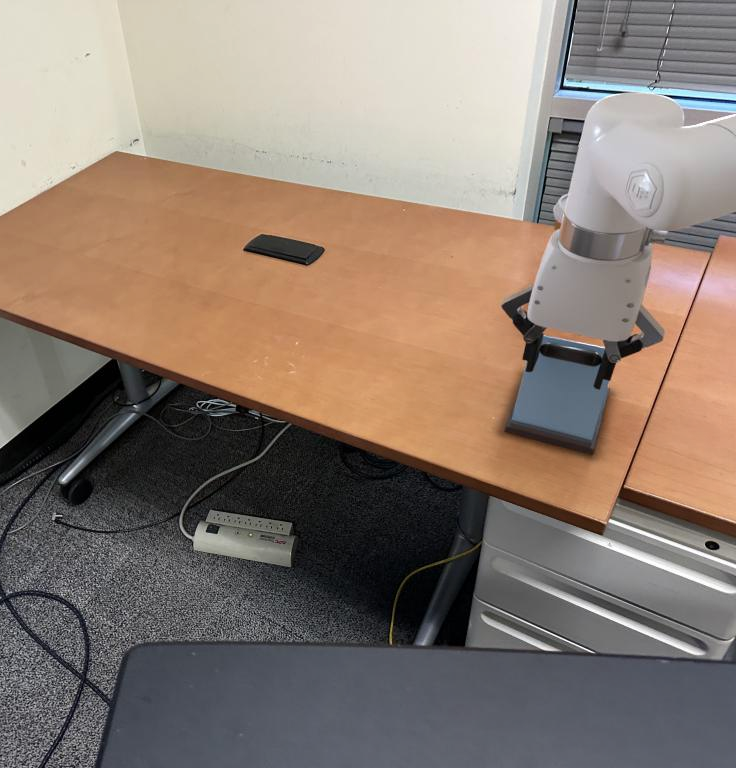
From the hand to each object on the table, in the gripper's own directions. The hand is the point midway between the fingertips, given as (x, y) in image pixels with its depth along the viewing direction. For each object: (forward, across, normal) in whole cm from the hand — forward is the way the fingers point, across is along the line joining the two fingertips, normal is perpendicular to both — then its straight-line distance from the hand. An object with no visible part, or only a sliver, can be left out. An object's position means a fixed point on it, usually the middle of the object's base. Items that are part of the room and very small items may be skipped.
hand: (564, 372), depth 77 cm
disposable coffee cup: (+11, +4, -38) cm, 40 cm away
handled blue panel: (+4, 0, -2) cm, 5 cm away
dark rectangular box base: (+10, 0, -5) cm, 11 cm away
